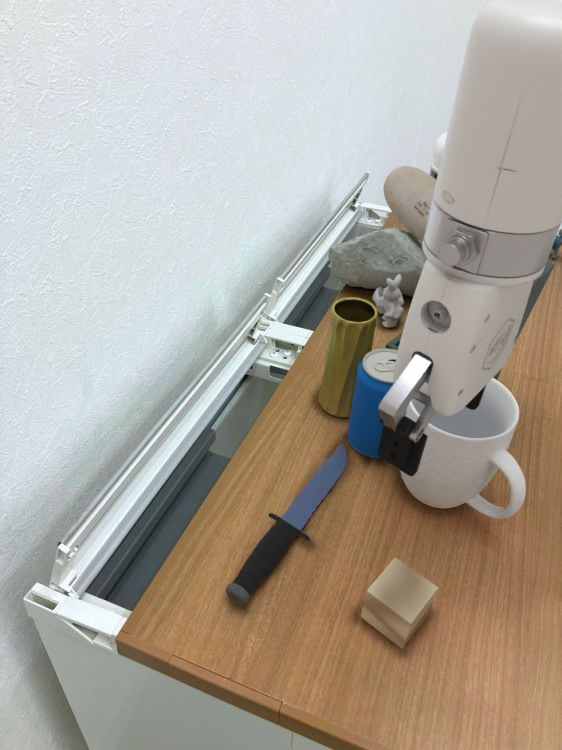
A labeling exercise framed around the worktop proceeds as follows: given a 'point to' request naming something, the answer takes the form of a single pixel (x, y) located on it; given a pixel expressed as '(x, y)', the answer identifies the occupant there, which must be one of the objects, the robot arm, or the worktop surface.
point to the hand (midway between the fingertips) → (429, 430)
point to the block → (398, 602)
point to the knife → (286, 529)
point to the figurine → (389, 301)
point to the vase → (346, 352)
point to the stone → (410, 197)
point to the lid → (535, 293)
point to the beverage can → (370, 400)
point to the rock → (379, 260)
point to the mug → (468, 454)
